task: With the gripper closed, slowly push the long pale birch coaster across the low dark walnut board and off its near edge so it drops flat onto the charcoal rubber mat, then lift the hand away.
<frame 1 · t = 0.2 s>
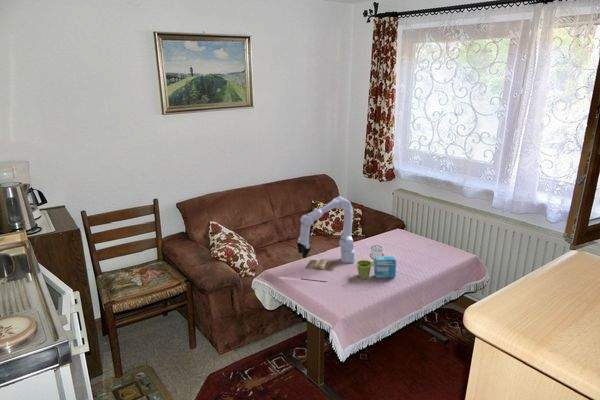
hand: (302, 255, 256), 11 cm above the table, tool pointing down, fingers open, 7 cm apart
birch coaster: (321, 265, 262), point 1 cm above the table, touching walnut board
walnut board: (321, 267, 263), on the table
charcoal mat: (316, 276, 251), on the table
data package: (384, 276, 248), on the table
plant pot: (363, 276, 249), on the table
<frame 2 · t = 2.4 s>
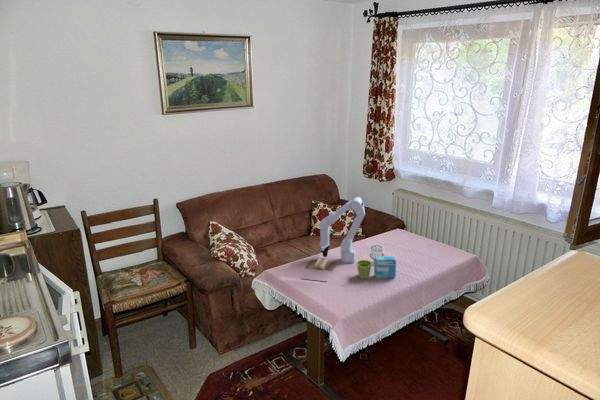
hand: (325, 256, 272), 3 cm above the table, tool pointing down, fingers closed
nothing on the table moved.
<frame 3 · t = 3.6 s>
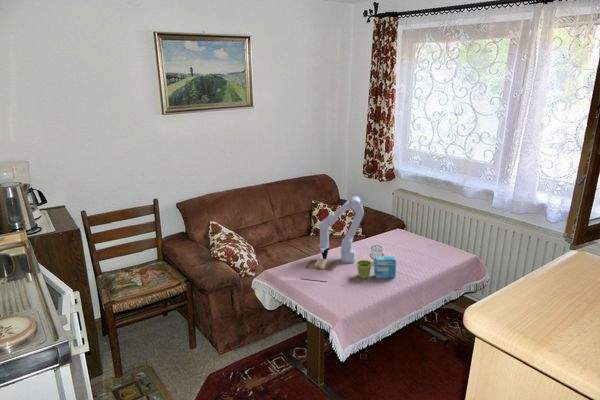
hand: (324, 258, 270), 2 cm above the table, tool pointing down, fingers closed
nothing on the table moved.
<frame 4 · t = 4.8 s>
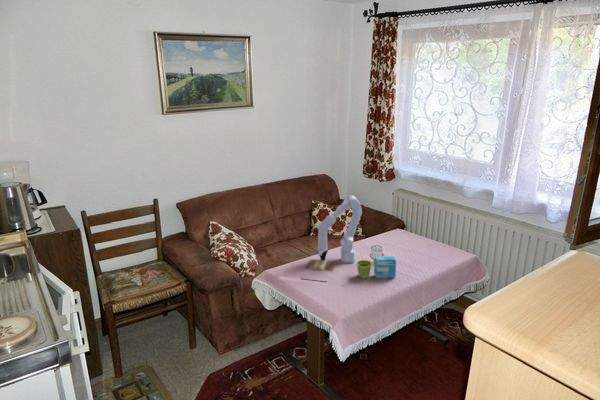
hand: (323, 261, 266), 2 cm above the table, tool pointing down, fingers closed
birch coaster: (320, 266, 261), point 2 cm above the table, touching gripper
everything else where it was.
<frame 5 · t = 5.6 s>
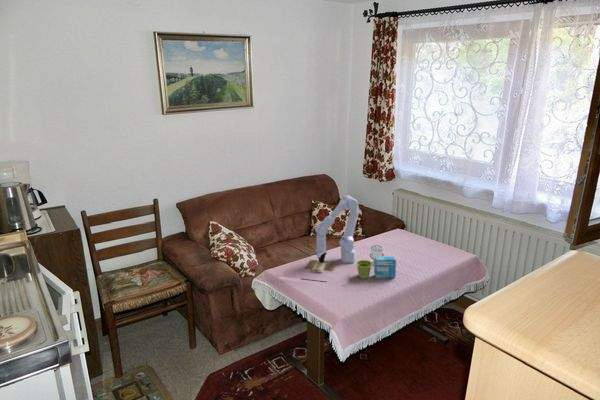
hand: (321, 263, 263), 2 cm above the table, tool pointing down, fingers closed
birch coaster: (319, 268, 258), point 1 cm above the table, touching gripper, walnut board
everything else where it was.
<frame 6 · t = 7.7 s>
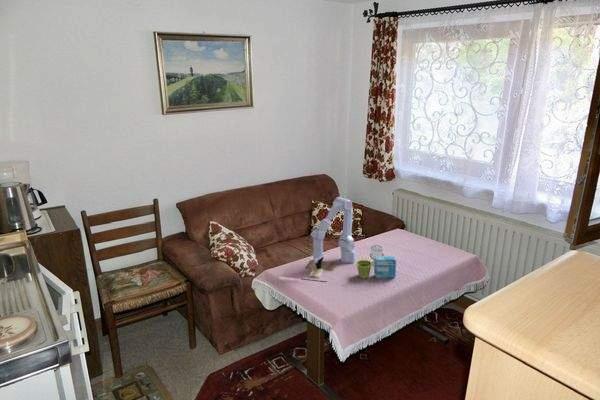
hand: (318, 268, 256), 2 cm above the table, tool pointing down, fingers closed
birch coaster: (316, 275, 252), point 1 cm above the table, touching charcoal mat, gripper
everything else where it was.
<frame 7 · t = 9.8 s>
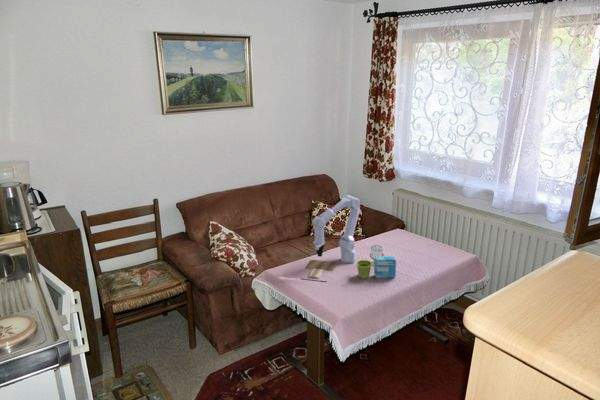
hand: (320, 256, 257), 9 cm above the table, tool pointing down, fingers closed
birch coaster: (316, 275, 251), point 1 cm above the table, touching charcoal mat
everything else where it was.
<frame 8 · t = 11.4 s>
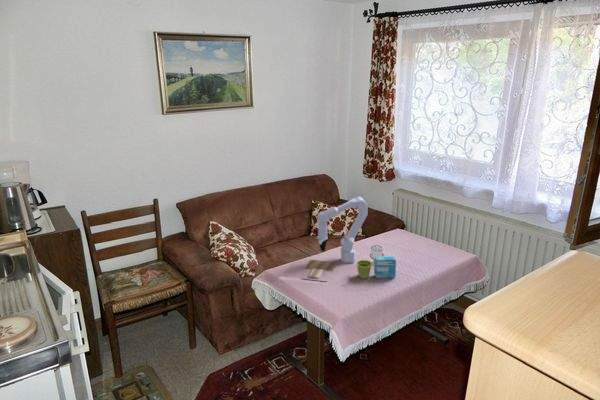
hand: (323, 250, 265), 9 cm above the table, tool pointing down, fingers closed
nothing on the table moved.
at the end: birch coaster inside the target area (0.2 cm from its centre), point 0.6 cm above the table; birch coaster touching charcoal mat; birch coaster tilted 0° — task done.
